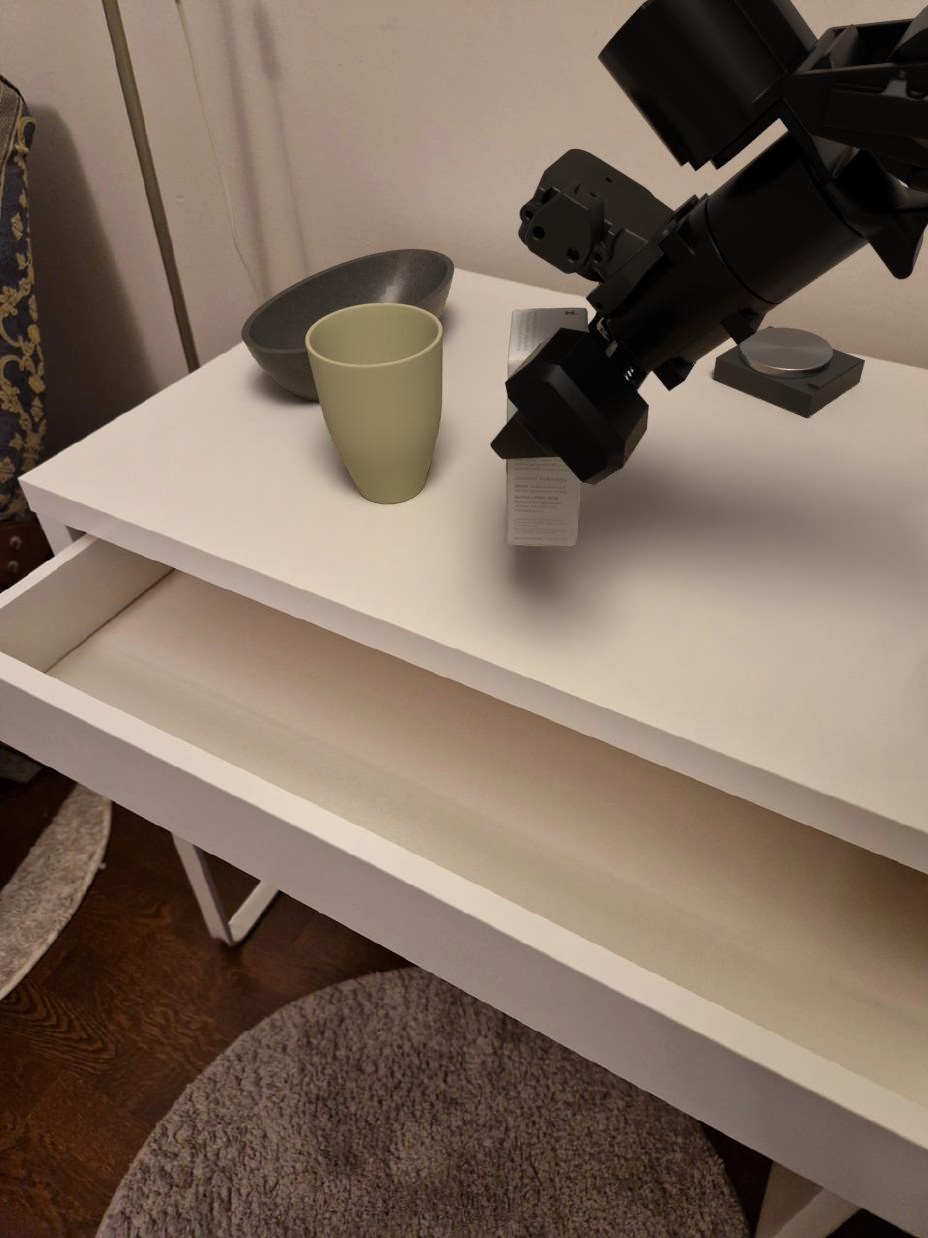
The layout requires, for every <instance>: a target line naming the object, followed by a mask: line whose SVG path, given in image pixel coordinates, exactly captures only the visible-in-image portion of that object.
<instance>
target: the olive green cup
mask: <svg viewBox="0 0 928 1238" xmlns="http://www.w3.org/2000/svg"><path fill="white" fill-rule="evenodd" d="M305 342H306V348H307V352H308V356H309V360H310V364H311V368H312V372H313V377H314V381H315V385H316V389H317V393H318V397H319V401H318V402H319V405H320V409H321V413H322V417H323V419H324V423H325V426H326V429H327V431H328V434H329V437H330V438H331V441H332V442H333V445H334V447H335V450H336V451H337V453H338V454H339V456H340V458H341V461H342V462H343V464H344V465H345V467H346V469H347V471H348V473H349V475H350V477H351V478H352V480H353V482H354V484H355V486H356V488H357V490H358V492H359V493H360V494H361V496H362V497H364V498H365V499H367V500H368V501H370V502H373V503H377V504H385V505H389V504H390V505H391V504H399V503H404V502H407V501H409V500H411V499H413V498H415V497H416V496H417V495H418V494H420V493H421V491H422V490H423V488H424V486H425V483H426V480H427V479H426V478H427V476H428V472H429V468H430V464H431V462H432V457H433V454H434V451H435V450H434V449H435V446H436V442H437V439H438V436H439V431H440V426H441V419H442V411H443V409H442V408H443V373H444V372H443V369H444V368H443V366H444V365H443V362H444V361H443V360H444V359H443V357H444V356H443V355H444V353H443V352H444V351H443V350H444V328H443V325H442V323H441V321H440V319H439V320H438V319H437V318H436V317H435V316H434V315H433V314H431V313H430V312H428V311H426V310H424V309H421V308H418V307H415V306H411V305H405V304H398V303H371V304H362V305H357V306H352V307H348V308H344V309H341V310H338V311H335V312H333V313H331V314H329V315H327V316H325V317H323V318H321V319H320V320H318V321H317V322H316V323H315V324H313V325H312V326H311V328H310V329H309V330H308V332H307V334H306V338H305Z"/></svg>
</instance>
